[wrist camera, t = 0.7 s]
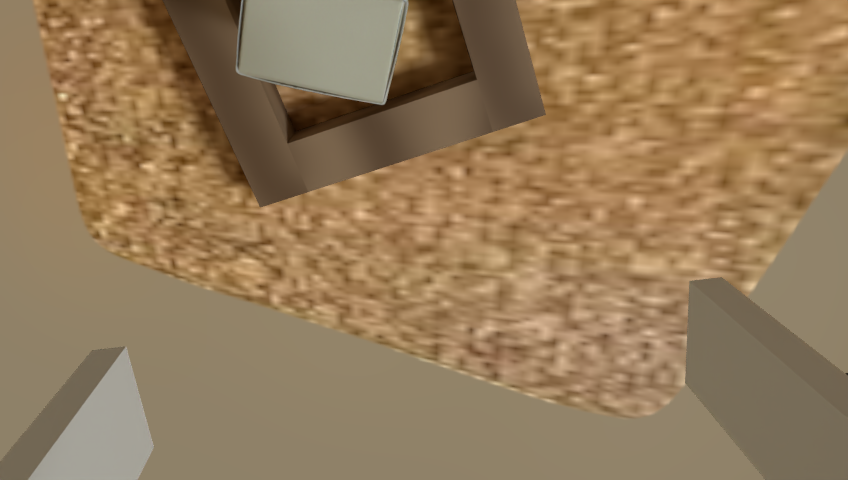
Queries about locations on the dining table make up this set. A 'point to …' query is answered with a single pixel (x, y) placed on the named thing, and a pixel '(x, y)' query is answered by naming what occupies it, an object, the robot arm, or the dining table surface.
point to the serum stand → (367, 128)
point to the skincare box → (322, 45)
